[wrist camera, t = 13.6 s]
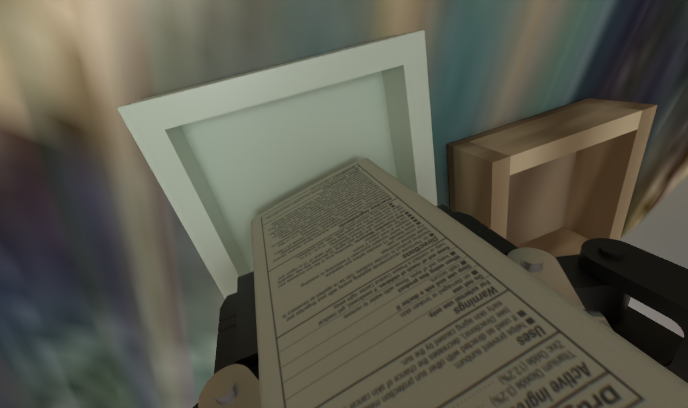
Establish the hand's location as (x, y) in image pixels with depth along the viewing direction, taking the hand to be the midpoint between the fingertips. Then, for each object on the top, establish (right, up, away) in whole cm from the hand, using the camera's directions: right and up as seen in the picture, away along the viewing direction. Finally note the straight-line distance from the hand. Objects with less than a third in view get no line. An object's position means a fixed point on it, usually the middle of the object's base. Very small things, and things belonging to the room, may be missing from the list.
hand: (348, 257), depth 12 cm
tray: (-2, +2, +5) cm, 5 cm away
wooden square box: (+11, +3, +9) cm, 15 cm away
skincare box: (-1, +1, +3) cm, 4 cm away
